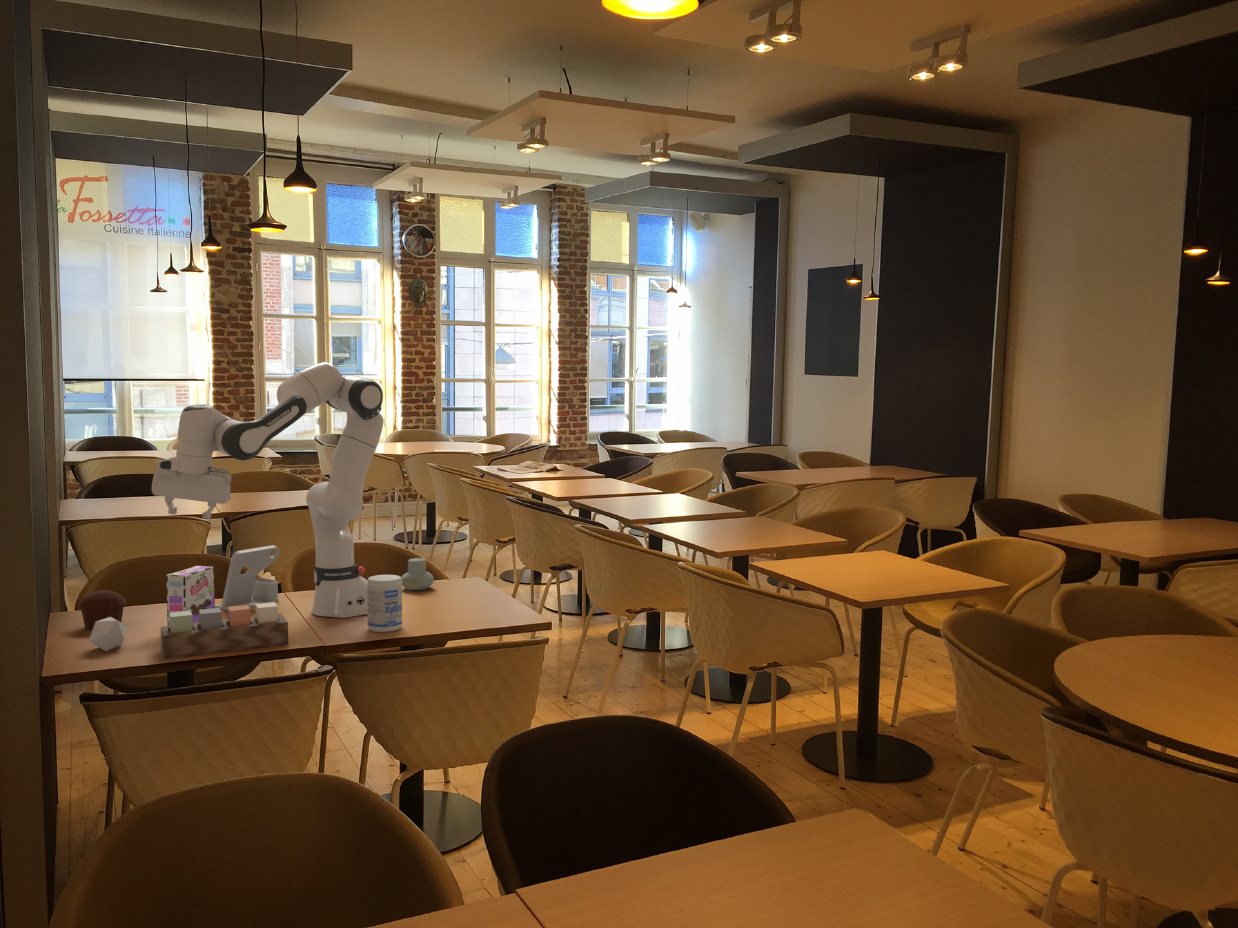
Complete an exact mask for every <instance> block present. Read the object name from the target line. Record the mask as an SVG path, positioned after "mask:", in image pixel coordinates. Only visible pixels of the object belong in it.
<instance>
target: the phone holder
mask: <svg viewBox="0 0 1238 928" xmlns="http://www.w3.org/2000/svg"><path fill="white" fill-rule="evenodd" d="M273 551H275V552H274V553H273V554H272V555H270V554H271V552H273ZM280 553H281V549H280V548H279V547H278V546H276V545H274V544H272V545H267V546H266V545H265V546H260V547H254V548H247V549H243V550H237V551H235V552H233V554H232V555H231V558H230V562H229V567H228V571H227V576H226V580H225V586H224V590H223V596H222V601H221V603H217V604H216V603H215V608H220V610H225V611H228V607H231V606H241V605H248V606H249V608H250V609H251V608H256V605H255V604H261V603H271V602H275V603H278V602H280V598H279V594H278V593H279V592H278V591H279V590H278V588H279V587H278V584H279V583H278V580H275V579H269V578H266V577H259V578H258V577H257V576H258V574H260V573H261V572H263V571H264V570H265V569H266V568H268V567H269V566H270V565H271V564H272V563H274V562H275V561H276V560H277V559H278V558H279V556H280ZM245 567H247V568H248V569H247V571H246V572H245V573H244V574H243V573H242V570H243V568H245Z"/></svg>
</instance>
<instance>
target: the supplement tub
mask: <svg viewBox="0 0 1238 928" xmlns="http://www.w3.org/2000/svg"><path fill="white" fill-rule="evenodd" d="M401 577H402V576H400V575H396V574H377V575H371V576H369V577H368V578H367V581H368V583H367V584H368V585H367V596H368V614H367V628H368V630H369V631H371V632H376V633H389V632H395V631H398V630H400V629H401V628H402V627H403V586H402V581H401Z"/></svg>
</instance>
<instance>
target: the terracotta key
mask: <svg viewBox="0 0 1238 928" xmlns="http://www.w3.org/2000/svg"><path fill="white" fill-rule="evenodd" d="M250 617H251V608H249V606H248V605H241V606H231V607H228V610H227V619H228V626H229V627H231V626H240V625H249V624H251V618H250Z"/></svg>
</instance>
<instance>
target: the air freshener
mask: <svg viewBox="0 0 1238 928" xmlns="http://www.w3.org/2000/svg"><path fill="white" fill-rule="evenodd" d="M407 561H408V562H407V572H405V573H403V575H402V576H400V577H401V581H402V588H404V589H407V590H409V591H411V590H420V591H425V590H426V589H429V588H430V587H431V586H433V584H434V580H435V577H434V576H433V574H431V573H430V571H427V559H425V558H422V557H421V558H420V557H416V558H415V557H414V558H409V559H408V560H407Z"/></svg>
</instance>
